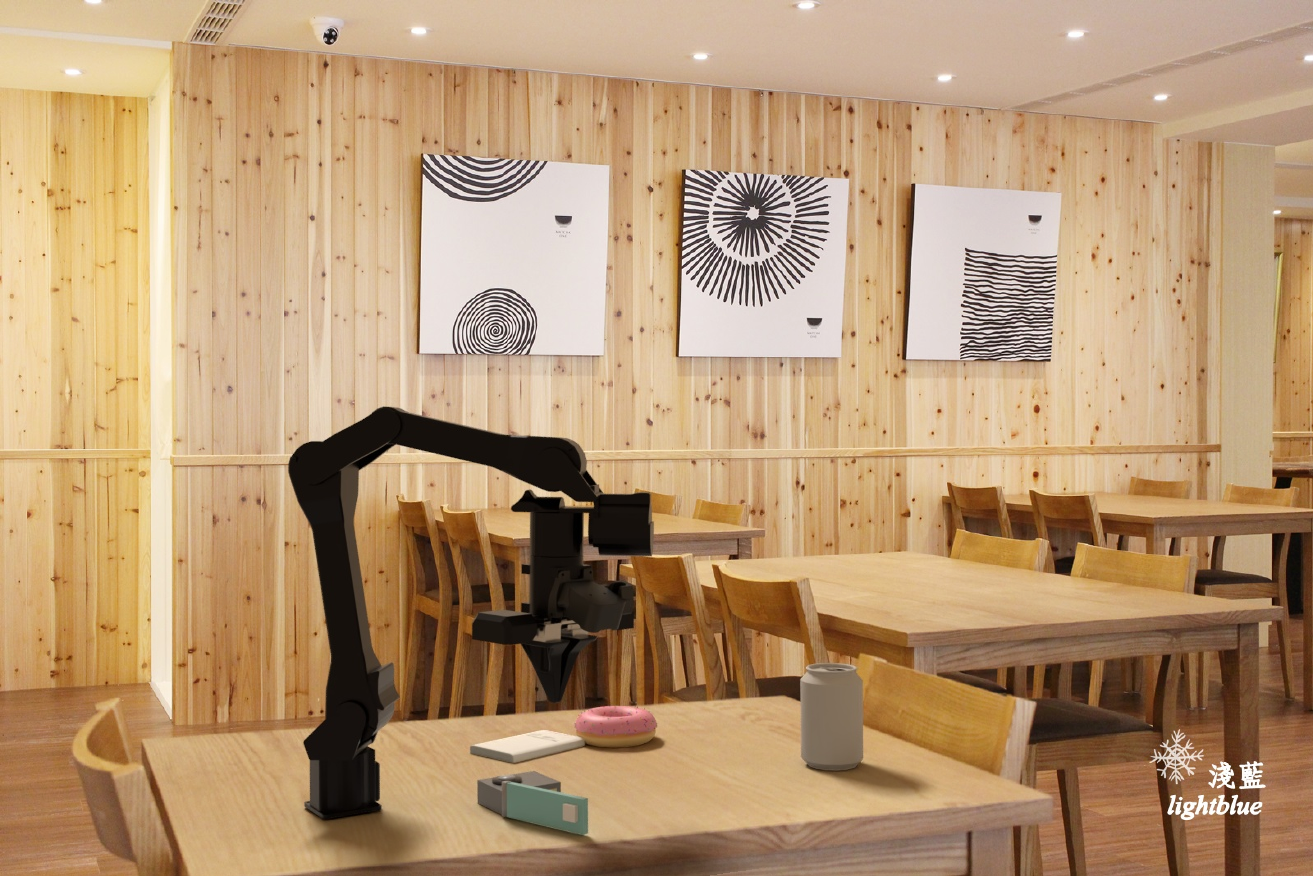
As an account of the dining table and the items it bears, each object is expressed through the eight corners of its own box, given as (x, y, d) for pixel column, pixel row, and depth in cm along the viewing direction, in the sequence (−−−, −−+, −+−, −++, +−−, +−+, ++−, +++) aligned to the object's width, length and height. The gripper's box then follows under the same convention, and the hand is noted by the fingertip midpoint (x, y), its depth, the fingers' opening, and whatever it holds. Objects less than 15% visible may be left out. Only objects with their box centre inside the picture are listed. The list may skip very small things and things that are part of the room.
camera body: (502, 815, 140) (502, 787, 140) (477, 803, 145) (477, 775, 145) (560, 805, 144) (560, 777, 144) (534, 793, 149) (534, 766, 149)
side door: (497, 816, 139) (497, 783, 139) (506, 813, 140) (506, 780, 140) (580, 836, 132) (579, 800, 132) (589, 833, 133) (588, 797, 133)
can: (875, 764, 162) (874, 665, 162) (839, 775, 156) (838, 673, 156) (825, 754, 167) (824, 658, 167) (788, 765, 161) (787, 666, 162)
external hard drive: (469, 757, 169) (541, 740, 178) (513, 767, 164) (585, 749, 173) (469, 744, 169) (541, 728, 178) (513, 754, 164) (585, 736, 173)
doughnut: (656, 731, 182) (655, 701, 182) (658, 750, 171) (658, 717, 171) (575, 733, 181) (575, 702, 181) (573, 751, 170) (573, 719, 170)
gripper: (542, 565, 129) (541, 727, 129) (671, 555, 143) (670, 701, 143) (469, 558, 137) (467, 710, 137) (598, 549, 151) (597, 687, 151)
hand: (554, 702), depth 142 cm, fingers closed
